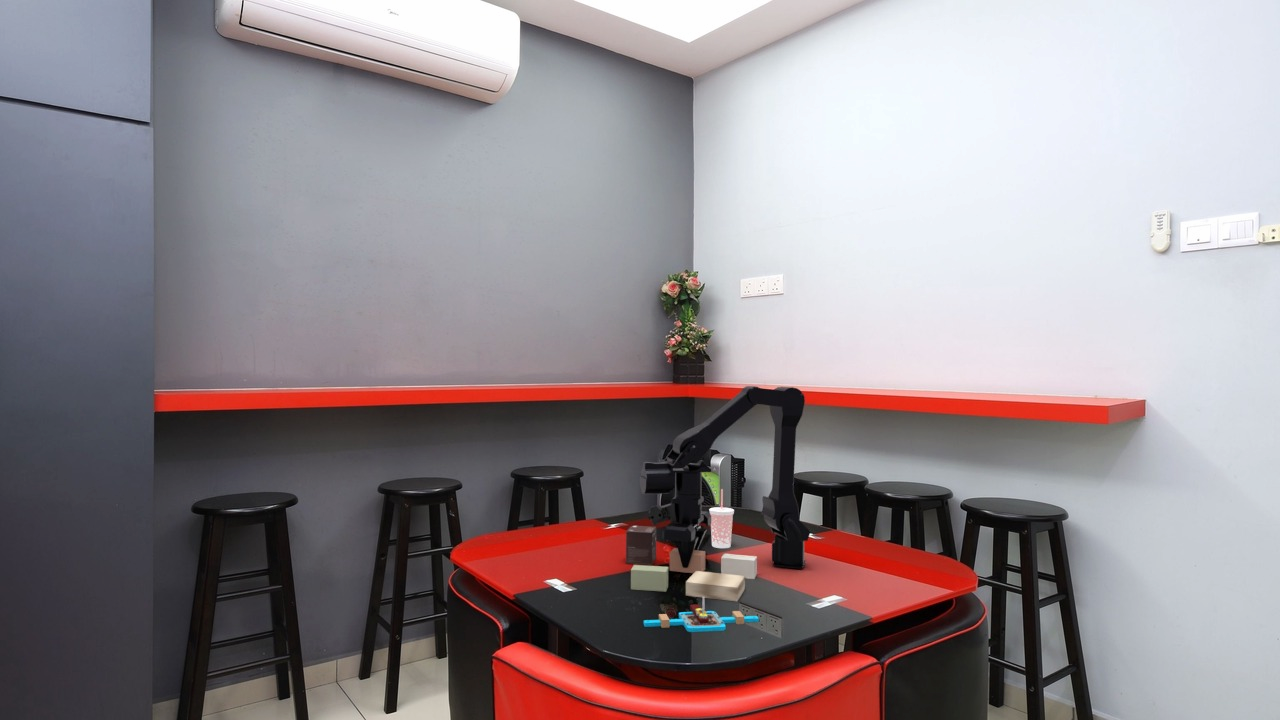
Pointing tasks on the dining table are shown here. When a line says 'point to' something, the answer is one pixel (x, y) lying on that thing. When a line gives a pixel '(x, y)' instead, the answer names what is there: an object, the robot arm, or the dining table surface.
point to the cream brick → (739, 565)
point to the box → (641, 545)
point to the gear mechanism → (701, 619)
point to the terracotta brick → (695, 563)
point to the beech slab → (715, 585)
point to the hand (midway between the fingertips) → (687, 565)
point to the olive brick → (649, 578)
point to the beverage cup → (721, 525)
